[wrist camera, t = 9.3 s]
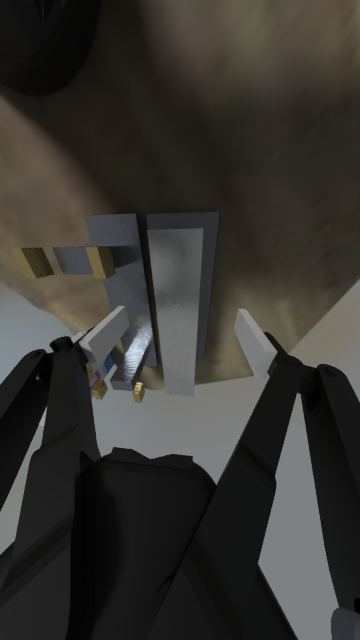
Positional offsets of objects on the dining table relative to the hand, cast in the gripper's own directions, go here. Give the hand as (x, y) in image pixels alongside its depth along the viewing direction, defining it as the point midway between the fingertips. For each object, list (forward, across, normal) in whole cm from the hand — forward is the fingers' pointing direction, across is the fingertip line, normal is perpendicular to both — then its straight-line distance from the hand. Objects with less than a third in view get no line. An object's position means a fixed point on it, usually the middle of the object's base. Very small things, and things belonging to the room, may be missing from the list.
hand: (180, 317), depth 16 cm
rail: (+4, 0, -2) cm, 5 cm away
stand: (+5, -8, -2) cm, 10 cm away
